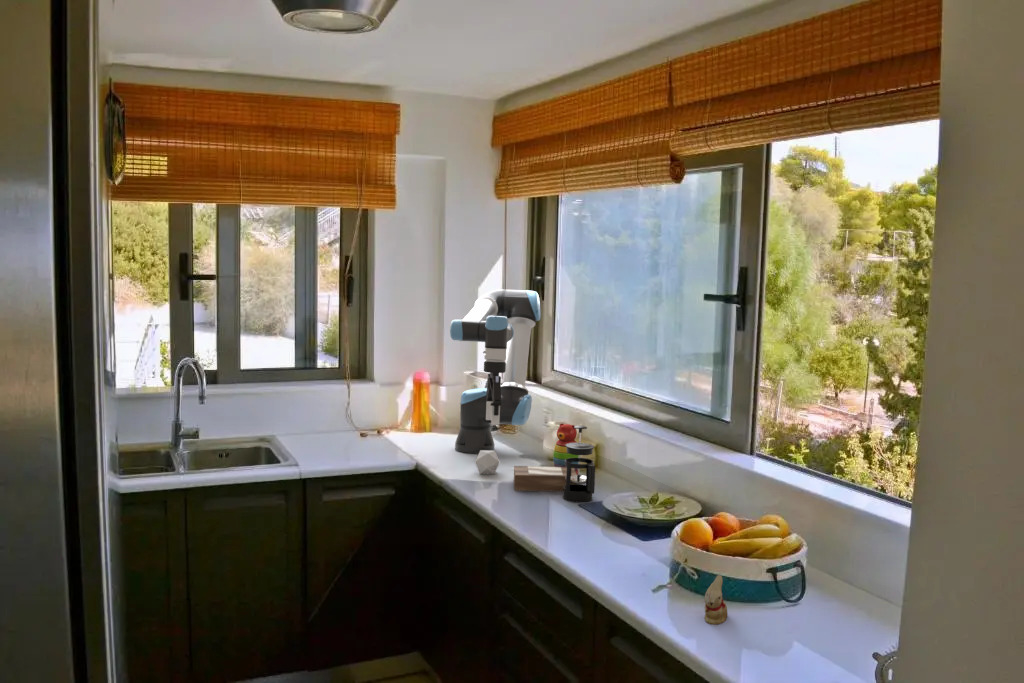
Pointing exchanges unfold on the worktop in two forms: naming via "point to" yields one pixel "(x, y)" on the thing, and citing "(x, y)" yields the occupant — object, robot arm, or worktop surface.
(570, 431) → the stacking bear
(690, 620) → the worktop surface
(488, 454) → the die
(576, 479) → the french press
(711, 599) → the chocolate bunny
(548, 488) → the block
